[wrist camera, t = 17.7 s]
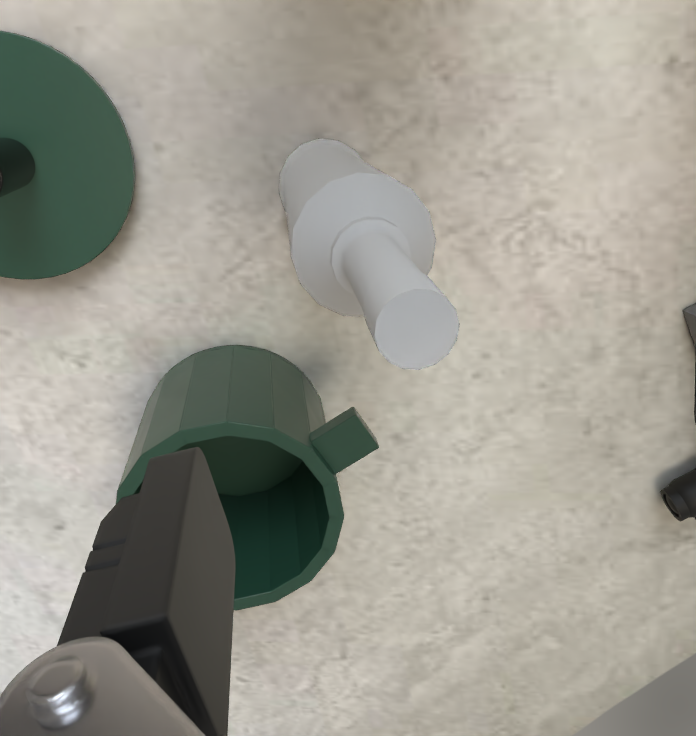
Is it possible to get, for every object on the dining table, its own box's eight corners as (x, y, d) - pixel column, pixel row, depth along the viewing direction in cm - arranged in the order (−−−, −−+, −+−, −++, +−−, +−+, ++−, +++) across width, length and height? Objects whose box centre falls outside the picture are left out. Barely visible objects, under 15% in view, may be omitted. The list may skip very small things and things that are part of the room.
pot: (74, 430, 43) (21, 531, 33) (295, 286, 41) (307, 350, 31) (186, 547, 47) (168, 665, 38) (389, 423, 45) (425, 514, 36)
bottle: (351, 238, 40) (477, 445, 17) (267, 214, 39) (282, 402, 16) (378, 151, 38) (557, 254, 15) (291, 124, 37) (344, 190, 14)
